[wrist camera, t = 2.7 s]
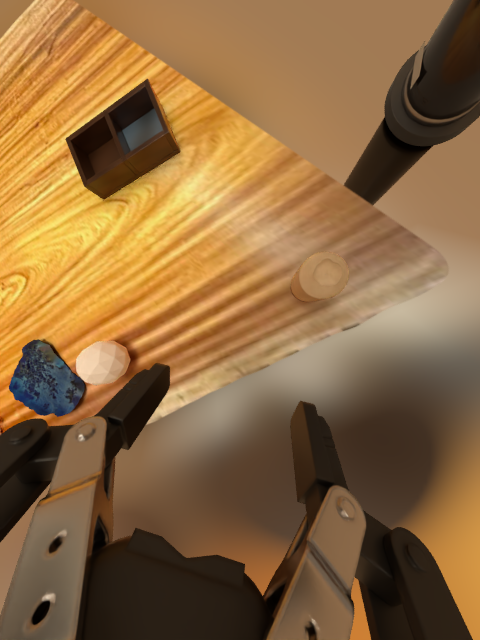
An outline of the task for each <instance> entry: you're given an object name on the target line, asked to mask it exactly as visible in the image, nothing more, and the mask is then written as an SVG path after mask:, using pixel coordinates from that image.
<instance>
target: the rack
mask: <svg viewBox="0 0 480 640" xmlns="http://www.w3.org/2000/svg"><path fill="white" fill-rule="evenodd" d="M66 142H67V144H68V147H69V149H70V152H71V154H72V157H73V159H74V161H75V164H76V166H77V169H78V171H79V174H80V176H81V179H82V181H83V184H84V186H85V187H86V188H87V189H89V190H90V191H92V192H93V193H95V194H96V195H98V196H99V197H101V198H102V199H105V198H107V197H108V196H110V195H111V194H113V193H115V192H116V191H118V190H119V189H121V188H123V187H124V186H126V185H128V184H129V183H131V182H132V181H134V180H136V179H137V178H139V177H140V176H142V175H144V174H145V173H147V172H148V171H150V170H152V169H153V168H155V167H156V166H158V165H160V164H161V163H163V162H164V161H166V160H168V159H169V158H171V157H172V156H174V155H176V154H177V153H179V152H180V150H179V147H178V145H177V142H176V140H175V137H174V135H173V132H172V130H171V127H170V125H169V123H168V120H167V118H166V115H165V113H164V110H163V108H162V105H161V103H160V101H159V99H158V97H157V95H156V94H155V92H154V90H153V88H152V86H151V84H150V82H149V80H148V79H146V80H145V81H144V82H142V83H141V84H139V85H138V86H137V87H135V88H134V89H133V90H131V91H130V92H129V93H127V94H126V95H124V96H123V97H122V98H120V99H119V100H118V101H116V102H115V103H114V104H112V105H111V106H109V107H108V108H107V109H106V110H104V111H103V112H101V113H100V114H99V115H97V116H96V117H95V118H93V119H92V120H90V121H89V122H88V123H86V124H85V125H84V126H82V127H81V128H80V129H78V130H77V131H75V132H74V133H73V134H71V135H70V136H69V137H67V138H66Z"/></svg>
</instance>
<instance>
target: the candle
mask: <svg viewBox="0 0 480 640" xmlns="http://www.w3.org/2000/svg"><path fill="white" fill-rule="evenodd" d="M348 278H349V270H348V266H347V264H346V262H345V261H344V260H343V259H342V258H341V257H340V256H339V255H337V254H335V253H332V252H319V253H316V254H313V255H312V256H310V257H309V258H308V259H307V260H306V261H305V262H304V263H303V264H302V266H301V267H300V268H299V270H298V271H297V272H296V274H295V275H294V277H293V279H292V281H291V290H292V293H293V294H294V296H295V297H296V298H297V299H299V300H301V301H304V302H312V301H317V300H323V299H328V298H332V297H334V296H336V295H337V294H339V293H340V292H341V291H342V290H343V289H344V288H345V286H346V284H347V282H348Z"/></svg>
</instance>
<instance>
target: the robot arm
mask: <svg viewBox="0 0 480 640" xmlns="http://www.w3.org/2000/svg"><path fill="white" fill-rule="evenodd" d="M424 45H425V41H424V43H423V45H422V46H421V48H420V50H419V51H418V53H417V55H416V56H415V62H414V66H413V67H412V69H411V71H410V72H409V74H408V76H407V78H406V80H405V82H404V85H403V89H402V104H403V107H404V110H405V112H406V113H407V115H408V116H409V117H410V118H411V119H412V120H414V121H415V122H417V123H419V124H421V125H425V126H432V127H433V126H443V125H447V124H450V123H453V122H455V121H457V120H459V119H461V118H462V117H464V116H465V115H466V114H468V113H469V112H470V111H471V110H472V109H473V108H474V107H475V106H476V105H477V104H478V103H479V102H480V0H453V2H452V4H451V6H450V7H449V9H448V11H447V12H446V14H445V15H444V17H443V19H442V20H441V22H440V24H439V25H438V27H437V29H436V30H435V32H434V34H433V36H432V37H431V39H430V41H429V42H428V44H427V46H426V47H425V49H424ZM169 386H170V367H169V366H168V365H164V364H160V363H156V364H154V365H153V367H152V368H151V369H150V370H146V369H145V370H143V371H141V372H139V373H137V374H136V375H135V376H134V377H133V378H132V379H131V380H130V381H129V383H127V384H126V385H125V386H124V387H123V389H121V390H120V391H119V392H118V393H117V394H116V395H115V396H114V397H113V398H112V399H111V400H110V401H109V402H108V403H107V404H106V405H105V406H104V407H103V408H102V409H101V410H100V412H98V413H97V414H96V415H95V416H92V417H88V418H85V419H83V420H81V421H79V422H78V423H76V424H75V425H65V426H48V424H47V422H46V421H45V420H43V419H30V420H26V421H23V422H21V423H18V424H16V425H15V426H13V427H11V428H9V429H8V430H7V431H5V432H4V433H3V434H1V435H0V542H1V541H2V540H3V539H4V537H5V536H6V535H7V534H8V533H9V531H10V530H11V529H12V528H13V527H14V526H15V524H16V523H17V522H18V521H19V520H20V518H21V517H22V516H23V515H24V514H25V512H26V511H27V510H28V509H29V508H30V506H31V505H32V504H33V503H34V502H35V501H36V499H37V498H38V497H39V496H40V495H41V493H42V492H43V491H44V490H45V489H46V487H47V486H48V485H49V484H50V483H51V485H50V489H49V491H48V494H47V495H46V497H45V498H43V499H42V500H40V501H39V503H38V504H37V506H36V508H35V510H34V513H33V516H32V519H31V522H30V525H29V528H28V531H27V534H26V538H25V540H24V544H23V547H22V550H21V553H20V556H19V559H18V562H17V565H16V569H15V572H14V575H13V578H12V581H11V584H10V587H9V590H8V593H7V597H6V599H5V602H4V606H3V609H2V612H1V615H0V640H349V639H350V634H351V630H352V625H353V619H354V603H353V601H352V599H351V589H352V585H353V580H354V577H355V578H357V579H358V580H359V585H360V589H361V594H362V599H363V603H364V608H365V612H366V617H367V621H368V626H369V631H370V635H371V640H473V639H472V637H471V635H470V633H469V631H468V629H467V626H466V625H465V622H464V620H463V618H462V616H461V614H460V612H459V609H458V607H457V605H456V603H455V601H454V599H453V597H452V595H451V592H450V590H449V588H448V586H447V584H446V582H445V580H444V577H443V575H442V573H441V571H440V569H439V567H438V565H437V563H436V561H435V559H434V558H433V556H432V554H431V553H430V552H429V550H428V549H427V547H426V546H425V545H424V544H423V543H422V542H421V541H420V539H418V538H417V537H416V536H415V535H414V534H413V533H411V532H410V531H408V530H407V529H405V528H401V527H397V528H395V529H393V530H390V529H389V528H388V527H386V526H385V525H383V524H382V523H380V522H379V521H377V520H376V519H374V518H373V517H372V516H370V515H369V514H367V513H366V512H365V511H364V510H363V509H362V508H361V506H360V504H359V502H358V501H357V500H356V498H355V497H354V496H353V495H352V494H351V493H350V492H349V490H348V487H347V485H346V481H345V478H344V475H343V471H342V468H341V464H340V461H339V458H338V454H337V451H336V449H335V444H334V441H333V440H332V435H331V431H330V428H329V426H328V424H327V423H326V421H325V420H324V418H323V417H321V416H318V414H317V411H316V407H315V405H314V404H311V403H307V402H303V401H300V402H299V404H298V406H297V408H296V410H295V412H294V414H293V416H292V419H291V426H290V428H291V439H292V448H293V459H294V470H295V480H296V491H297V501H298V502H300V503H303V504H306V511H307V514H306V515H305V517H304V519H303V521H302V523H301V525H300V527H299V529H298V531H297V534H296V535H295V537H294V540H293V541H292V544H291V546H290V547H289V549H288V551H287V553H286V555H285V558H284V560H283V561H282V563H281V564H280V566H279V567H278V569H277V570H276V572H275V574H274V576H273V577H272V579H271V581H270V583H269V585H268V587H267V589H266V591H265V593H264V595H263V596H262V594H261V593H260V591H259V590H258V588H257V586H256V585H255V583H254V582H253V581H252V580H251V579H250V578H249V577H248V576H247V575H246V574H245V573H244V569H245V564H243V563H240V562H237V561H234V560H231V559H228V558H225V557H222V556H219V555H212V556H202V557H194V558H186V557H184V556H182V555H181V554H180V553H179V552H178V551H177V550H176V549H175V548H174V547H173V546H172V545H170V544H169V543H168V542H167V541H166V540H165V539H164V538H163V537H161V536H159V535H156V534H153V533H149V532H146V531H143V530H140V529H137V528H135V531H134V533H133V535H132V536H127V537H124V538H120V539H118V540H115V541H113V542H112V539H113V505H112V504H113V487H114V486H113V485H114V472H115V456H116V455H117V453H118V452H119V450H120V449H121V448H123V449H127V450H129V449H130V447H131V446H132V444H133V442H134V441H135V440H136V438H137V437H138V435H139V433H140V432H141V431H142V429H143V428H144V426H145V425H146V423H147V422H148V420H149V419H150V417H151V416H152V414H153V413H154V411H155V410H156V408H157V407H158V405H159V404H160V402H161V401H162V399H163V398H164V396H165V395H166V393H167V391H168V389H169Z"/></svg>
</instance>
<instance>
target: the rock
mask: <svg viewBox="0 0 480 640" xmlns="http://www.w3.org/2000/svg"><path fill="white" fill-rule="evenodd" d="M52 350H53V349H52V348H50V345H48V344H45V343H43V342H41V341H40V340H33V341H31V342H29V343H28V344H27V345H25V346H24V347H23V348H22V353H23V357H22V358H21V360H20V361H19V364H18V365H17V368H16V369H15V371H14V375H13V377H12V378H11V379H12V380H11V383H10V385H9V389H10V391H11V392H12V393H13V394H14V398H15V400H19V401H20V402H23V403H24V405H25V406H26V407H29V408H30V409H33V410H34V411H35V412H36V413H37V414H39V415H44V416H45V415H49V414H50V413H54V414H55V415H57V417H58V416H63V415H65V414H68V413H70V412H71V411H72V410H73V409H74V408H75V406H76V405H77V404H78V402H79V400H80V398H81V397H82V394H83V392H84V386H85V384H84V383H83V380H81V378H80V377H77V376H76V375H75V374H73V373H72V372H71V370H69V368H68V367H67V365H65V364H64V361H62V360H61V359H59V358H58V356H56V354H54V351H52Z"/></svg>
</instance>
